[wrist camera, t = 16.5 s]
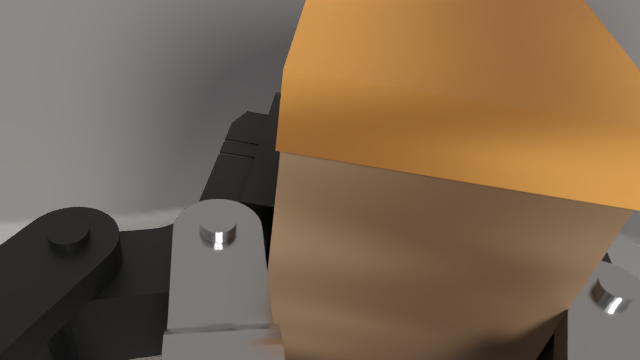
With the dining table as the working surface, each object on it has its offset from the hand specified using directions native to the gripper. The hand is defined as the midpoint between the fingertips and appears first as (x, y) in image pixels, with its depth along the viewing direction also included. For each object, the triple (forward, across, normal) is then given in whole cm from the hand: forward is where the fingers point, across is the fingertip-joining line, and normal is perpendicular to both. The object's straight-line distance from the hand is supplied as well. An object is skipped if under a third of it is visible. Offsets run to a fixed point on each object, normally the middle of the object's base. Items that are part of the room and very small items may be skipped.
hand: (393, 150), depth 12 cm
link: (-3, 0, +6) cm, 7 cm away
